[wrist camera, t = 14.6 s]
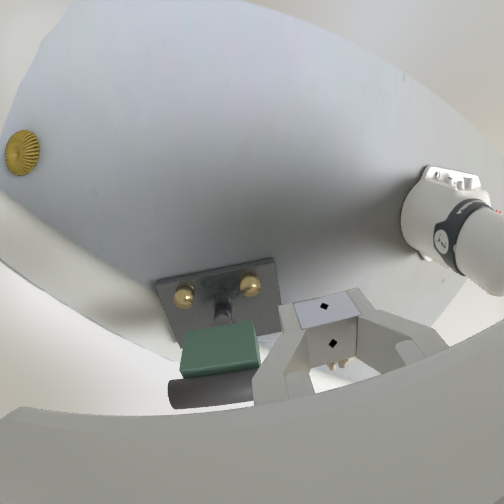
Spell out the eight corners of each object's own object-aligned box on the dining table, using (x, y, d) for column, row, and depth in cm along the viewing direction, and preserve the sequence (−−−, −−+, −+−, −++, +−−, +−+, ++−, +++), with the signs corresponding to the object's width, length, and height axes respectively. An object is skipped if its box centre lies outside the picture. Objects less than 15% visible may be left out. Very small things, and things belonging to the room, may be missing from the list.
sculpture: (0, 135, 31) (30, 126, 32) (13, 134, 35) (43, 125, 36) (2, 180, 34) (32, 174, 35) (15, 175, 38) (45, 170, 39)
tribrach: (272, 257, 48) (279, 277, 42) (283, 324, 54) (290, 348, 47) (157, 280, 48) (148, 302, 42) (182, 342, 54) (177, 367, 47)
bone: (346, 367, 58) (341, 390, 49) (322, 354, 60) (313, 375, 51) (367, 337, 56) (366, 358, 47) (342, 323, 58) (337, 341, 49)
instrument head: (261, 309, 43) (273, 380, 30) (267, 339, 45) (280, 408, 33) (177, 324, 43) (164, 394, 30) (189, 352, 45) (181, 420, 33)
